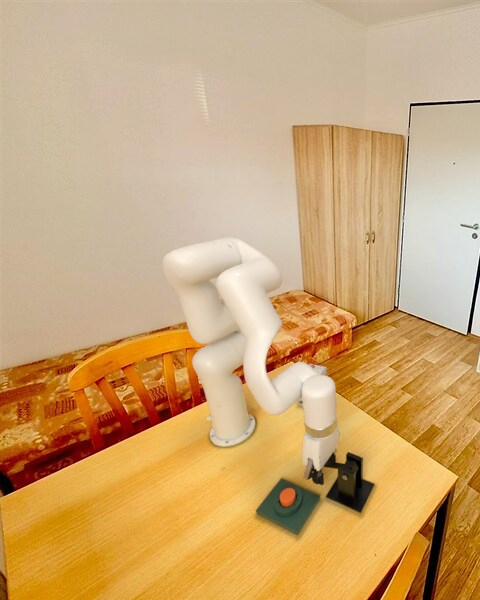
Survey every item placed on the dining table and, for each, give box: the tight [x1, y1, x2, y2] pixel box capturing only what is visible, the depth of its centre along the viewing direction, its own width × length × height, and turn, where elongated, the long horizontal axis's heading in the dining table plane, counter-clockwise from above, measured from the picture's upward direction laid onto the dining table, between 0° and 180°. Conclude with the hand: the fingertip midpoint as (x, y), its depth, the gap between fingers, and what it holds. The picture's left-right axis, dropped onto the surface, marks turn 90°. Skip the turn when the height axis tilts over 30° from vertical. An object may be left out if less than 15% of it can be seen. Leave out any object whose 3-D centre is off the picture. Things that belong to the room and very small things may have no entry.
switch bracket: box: [325, 451, 375, 514], centre depth 81 cm, size 10×8×12 cm
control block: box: [255, 477, 321, 536], centre depth 78 cm, size 12×9×4 cm
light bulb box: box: [297, 363, 328, 407], centre depth 111 cm, size 11×7×11 cm, turn 168°
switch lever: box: [322, 457, 359, 472], centre depth 81 cm, size 11×5×2 cm, turn 68°
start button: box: [280, 488, 296, 507], centre depth 77 cm, size 4×4×2 cm
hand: (324, 472), depth 84 cm, fingers closed on switch lever, 5 cm apart
